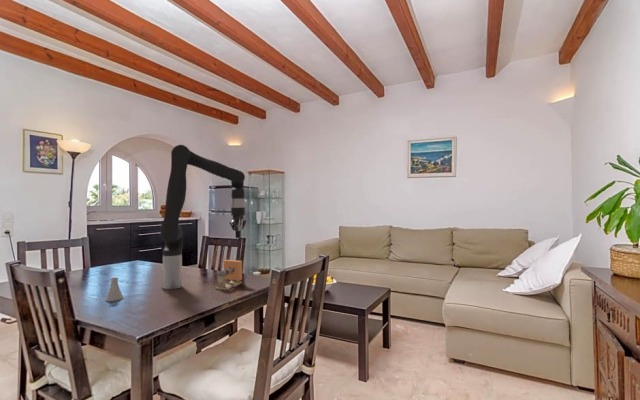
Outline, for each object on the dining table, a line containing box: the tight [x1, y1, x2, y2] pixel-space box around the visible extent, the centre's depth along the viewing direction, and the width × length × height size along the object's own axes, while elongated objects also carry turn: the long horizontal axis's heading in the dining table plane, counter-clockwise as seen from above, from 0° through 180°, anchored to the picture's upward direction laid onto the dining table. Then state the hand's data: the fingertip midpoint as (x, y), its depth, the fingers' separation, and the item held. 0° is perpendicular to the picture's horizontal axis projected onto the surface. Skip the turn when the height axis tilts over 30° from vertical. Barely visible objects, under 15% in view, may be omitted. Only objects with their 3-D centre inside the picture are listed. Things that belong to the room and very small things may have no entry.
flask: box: [105, 277, 124, 302], centre depth 154 cm, size 7×7×10 cm
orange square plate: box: [223, 259, 243, 281], centre depth 180 cm, size 10×2×10 cm, turn 70°
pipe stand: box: [214, 267, 243, 291], centre depth 177 cm, size 15×6×9 cm, turn 160°
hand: (238, 237), depth 185 cm, fingers closed
